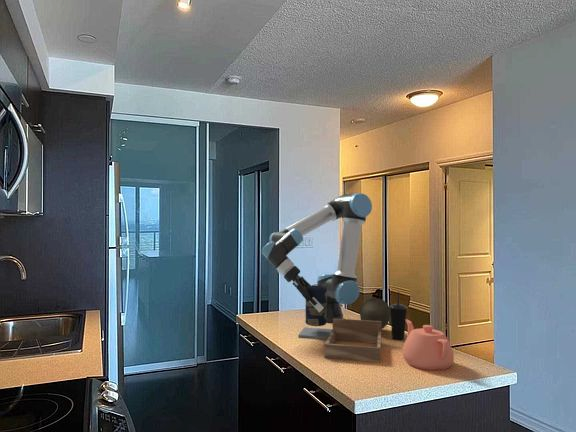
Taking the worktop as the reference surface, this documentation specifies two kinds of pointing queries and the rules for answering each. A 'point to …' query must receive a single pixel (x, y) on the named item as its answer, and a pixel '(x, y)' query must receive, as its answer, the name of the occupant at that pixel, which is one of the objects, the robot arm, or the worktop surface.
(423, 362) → the teapot
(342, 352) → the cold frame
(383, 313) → the kiwi fruit
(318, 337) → the slate tile
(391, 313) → the drinking cup
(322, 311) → the canister
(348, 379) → the worktop surface
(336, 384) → the worktop surface
